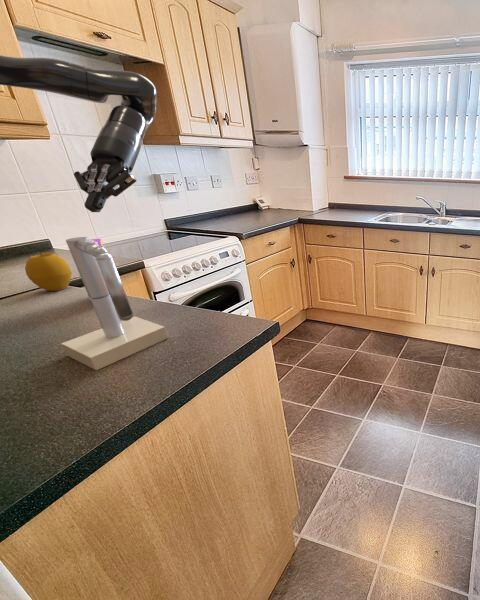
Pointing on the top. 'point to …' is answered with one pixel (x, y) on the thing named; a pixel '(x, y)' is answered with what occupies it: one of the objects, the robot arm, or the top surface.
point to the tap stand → (113, 337)
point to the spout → (99, 274)
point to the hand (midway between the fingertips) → (91, 209)
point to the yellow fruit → (48, 271)
